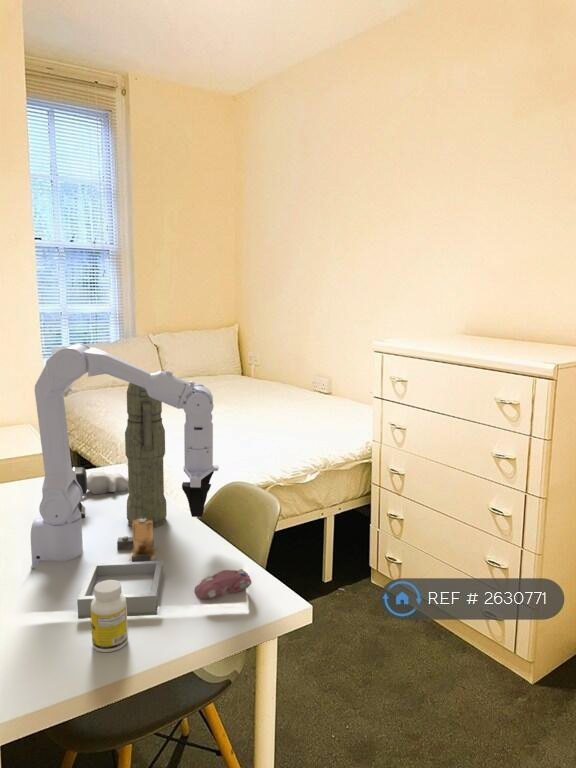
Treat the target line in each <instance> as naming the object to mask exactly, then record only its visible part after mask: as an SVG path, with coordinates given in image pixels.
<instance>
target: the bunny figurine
mask: <svg viewBox="0 0 576 768" xmlns="http://www.w3.org/2000/svg"><path fill="white" fill-rule="evenodd" d="M127 488H129V484H128V477H125V476H124V475H123V474H121V473H117V472H116V473H114V474H112V473H106V472H104V471H92V472H90V474H89V475H88V476H87V491H89V492H91V494H93V495H103V494H106V493H109V492H110V493H115V492H116V493H118V492H124V491H125V490H126V489H127Z"/></svg>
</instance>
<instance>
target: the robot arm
mask: <svg viewBox="0 0 576 768" xmlns="http://www.w3.org/2000/svg"><path fill="white" fill-rule="evenodd" d="M87 373H88V374H87ZM86 374H87V377H94V376H100V375H101V376H102V375H109V376H111V377H114V378H117V379H119V380H122V381H125V382H127V383H129V382H130V383H132V384H135V385H138V386H140V387H143V388H145V389H146V391H147V393H148V395H149V397H151V398H153V399H156V400H158V401H161V402H162V404H163V403H164V404H166V405H168V406H170V407H173V408H175V409H179V410H180V409H182V410H183V411H184V414H185V422H184V424H183V425H184V437H183V439H184V446H183V447H184V466H183V472H184V473H185V474H186V476H187V477H188V478H189V481H183V482H182V484H181V489H182V491H183V493H184V494H185V497H186V498H187V502H188V507H189V511H190V515H191V517H192V518H202V517H203V515H204V510H205V504H206V501H207V497H208V493H209V491H210V489H211V486H212V483H211V482H210V481H211V479H212V476H213V475H214V473H215V472H218V471H219V465H218V464H214V461H213V460H214V458H213V457H214V455H213V454H214V424H213V414H212V412H213V410H214V406H215V405H214V396H213V394H212V391H211V390H210V389H209V388H207V387H205V386H204V384H200V383H199V384H196V382H195V381H193V380H190V381H186V380H184V379H182V378H180V377H177V376H175V375H173V374H174V372H173V371H171V370H169V369H167V370H166V371H163V370H158V371H155V372H150V371H147V370H145V369H144V368H141V367H139V366H137V365H135V364H133V363H131V362H129V361H126V360H124V359H121V358H119V357H117V356H116V355H113V354H111V353H110V352H107V351H104V350H102V349H100V348H97V347H93V346H92V347H90V346H88V344H85V343H82V342H81V343H80V342H76V343H72V344H69V345H67V346H66V347H64V348H60V349H58V350H57V351H56V352H55V353H54V354H53V355H51V356H50V357H49V358H48V359H46V361H45V366H44V367H43V369H42V371H41V373H40V375H39V376H38V379H37V380H36V382H35V385H34V396H35V402H36V404H35V405H36V411H37V412H36V413H37V420H38V428H39V429H38V430H39V435H40V445H41V453H42V459H43V460H42V461H43V462H42V463H43V467H44V468H43V470H44V479H43V484H42V488H41V492H42V498H41V501H40V503H39V506H38V507H39V508H38V511H39V516H40V517H38V518H37V517H36V518H34V520H33V522H32V523H31V524H32V525H31V529H30V550H31V552H30V553H31V565H30V568H31V569H35V568H36V567H37V566H38V564H39V562H41V561H51V562H52V561H53V562H65V561H70V560H73V559H75V558H78V557H80V556H81V555H82V553H83V552H84V549H83V548H84V545H83V525H82V523H83V522H82V521H83V520H82V519H83V518H81V512H80V510H79V508H78V505H77V504H79V502H81V501H82V499H83V495H84V494H83V492H82V488H81V486H80V485H79V484H78V482H77V480H76V474H75V472H74V471H73V469H72V468H73V467H72V458H71V449H70V441H69V440H70V439H69V433H68V424H67V414H66V407H65V406H66V405H65V398H64V397H65V396H64V392H65V391H67V389H68V388H69V387H70V386H71V385H72V384H73V383H74V382H76V381H77V380H79V379H80V378H81V377H83V376H84V375H86Z"/></svg>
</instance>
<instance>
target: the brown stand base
mask: <svg viewBox="0 0 576 768" xmlns="http://www.w3.org/2000/svg"><path fill="white" fill-rule="evenodd" d="M116 544H117V545H116V549H117V551H124V550H125V551H127V550H129V551H130V552H131V553H130V555H129V559H128V562H143V561H156V560H155V559H156V554H157V547H156V548H155V541H154V539H153V555H152V556H151V554H133V536H126V535H125V536H122V537H118V539H117V543H116Z"/></svg>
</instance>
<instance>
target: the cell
mask: <svg viewBox="0 0 576 768" xmlns="http://www.w3.org/2000/svg"><path fill="white" fill-rule="evenodd" d="M131 529H132V537H133V554H151V556H152V555H153V549H154V548H153V540H154V532H153V531H154V530H153V529H154V528H153V521H152V520H151V519H149V518H139V519H136V520H134V521H133V522H132V527H131Z"/></svg>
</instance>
